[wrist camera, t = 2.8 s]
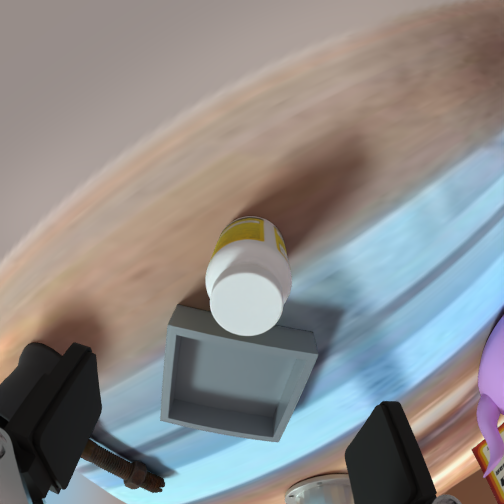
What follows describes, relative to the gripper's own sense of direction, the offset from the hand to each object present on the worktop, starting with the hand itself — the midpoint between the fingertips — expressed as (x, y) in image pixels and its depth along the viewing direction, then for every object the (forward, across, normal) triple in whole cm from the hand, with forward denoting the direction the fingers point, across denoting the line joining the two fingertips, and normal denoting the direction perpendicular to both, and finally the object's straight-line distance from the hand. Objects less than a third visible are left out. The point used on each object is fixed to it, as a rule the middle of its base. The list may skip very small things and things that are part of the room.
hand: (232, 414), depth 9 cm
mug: (+18, +22, +24) cm, 37 cm away
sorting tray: (+18, -1, +14) cm, 22 cm away
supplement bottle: (+18, 0, +1) cm, 18 cm away
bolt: (+18, +12, +37) cm, 43 cm away
